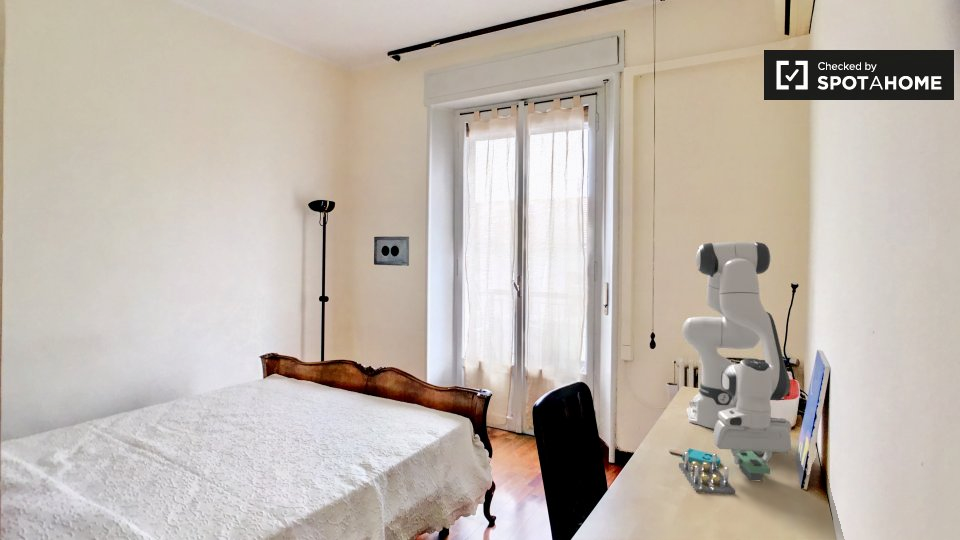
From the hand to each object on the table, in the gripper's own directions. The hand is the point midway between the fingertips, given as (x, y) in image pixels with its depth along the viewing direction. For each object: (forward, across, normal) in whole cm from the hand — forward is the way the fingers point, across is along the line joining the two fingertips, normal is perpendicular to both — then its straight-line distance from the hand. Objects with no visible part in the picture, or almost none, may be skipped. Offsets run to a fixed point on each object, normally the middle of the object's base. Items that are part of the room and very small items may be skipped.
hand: (750, 464), depth 150 cm
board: (0, 0, 0) cm, 0 cm away
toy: (+4, +13, -9) cm, 16 cm away
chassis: (+3, +14, +5) cm, 15 cm away
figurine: (+3, -9, -21) cm, 23 cm away
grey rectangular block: (+3, 0, 0) cm, 3 cm away
